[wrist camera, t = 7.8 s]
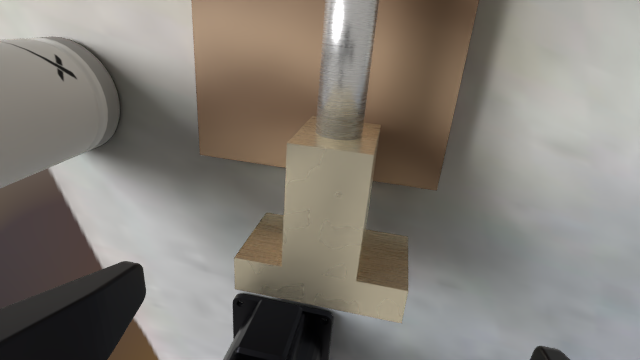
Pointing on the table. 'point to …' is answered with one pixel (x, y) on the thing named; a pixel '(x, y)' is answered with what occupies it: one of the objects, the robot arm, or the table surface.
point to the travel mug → (51, 104)
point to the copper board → (304, 73)
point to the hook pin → (332, 193)
